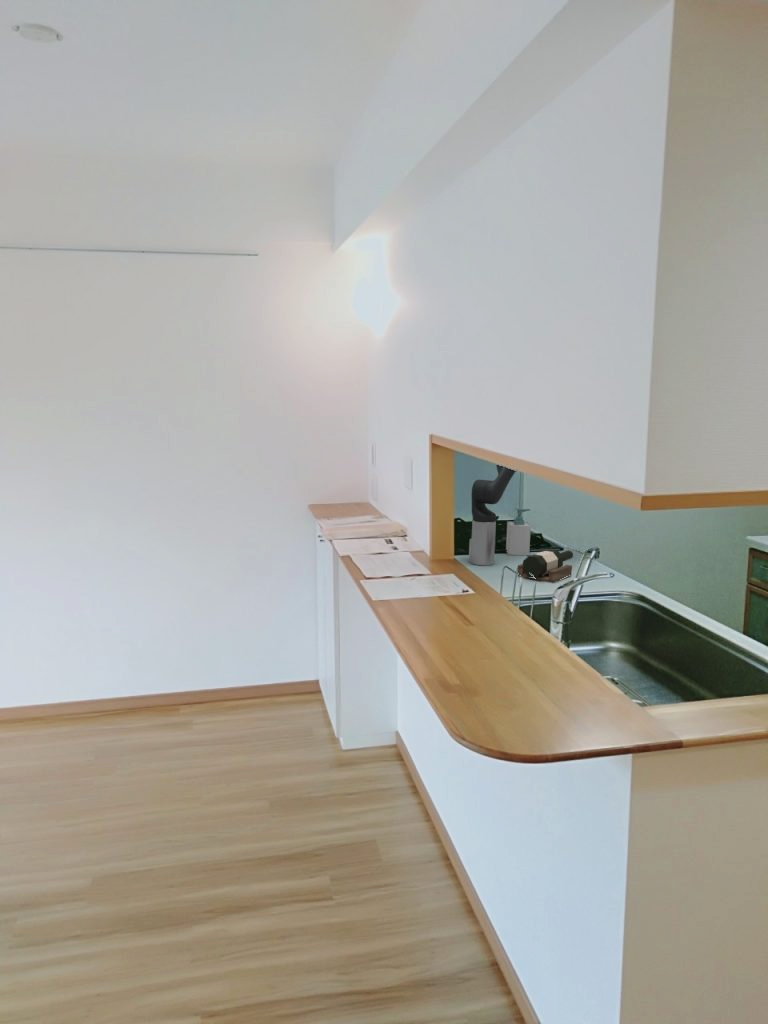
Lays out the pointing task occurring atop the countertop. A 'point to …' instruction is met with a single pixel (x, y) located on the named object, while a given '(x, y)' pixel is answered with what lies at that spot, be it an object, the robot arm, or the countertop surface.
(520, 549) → the soap bottle
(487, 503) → the robot arm
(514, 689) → the countertop surface
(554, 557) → the wine bottle
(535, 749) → the countertop surface
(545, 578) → the cradle
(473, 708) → the countertop surface
